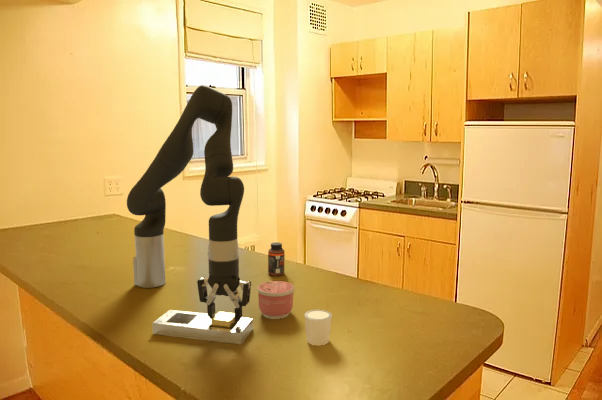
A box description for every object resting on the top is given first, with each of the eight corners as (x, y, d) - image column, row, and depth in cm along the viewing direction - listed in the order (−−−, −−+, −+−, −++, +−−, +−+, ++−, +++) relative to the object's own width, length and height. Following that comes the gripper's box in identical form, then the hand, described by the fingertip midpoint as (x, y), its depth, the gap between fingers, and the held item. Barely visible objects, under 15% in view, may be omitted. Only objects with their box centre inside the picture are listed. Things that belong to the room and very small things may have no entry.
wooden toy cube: (211, 337, 118) (211, 319, 117) (219, 329, 122) (219, 311, 122) (230, 339, 116) (229, 321, 116) (237, 331, 121) (237, 313, 121)
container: (274, 303, 140) (274, 278, 139) (301, 312, 134) (301, 286, 132) (249, 314, 132) (249, 287, 131) (277, 324, 126) (277, 296, 124)
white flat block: (152, 333, 119) (152, 322, 119) (170, 320, 128) (169, 309, 127) (240, 344, 114) (240, 332, 113) (252, 329, 122) (252, 318, 122)
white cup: (303, 335, 119) (303, 309, 118) (329, 334, 120) (329, 308, 119) (305, 347, 112) (305, 320, 111) (333, 346, 113) (334, 319, 112)
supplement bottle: (282, 276, 165) (282, 246, 163) (266, 275, 166) (266, 245, 165) (286, 271, 171) (286, 242, 169) (270, 270, 172) (270, 241, 170)
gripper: (255, 254, 118) (256, 316, 121) (203, 250, 121) (205, 310, 124) (245, 262, 111) (246, 328, 114) (190, 257, 114) (192, 322, 117)
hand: (224, 318), depth 119 cm, fingers open, 6 cm apart
